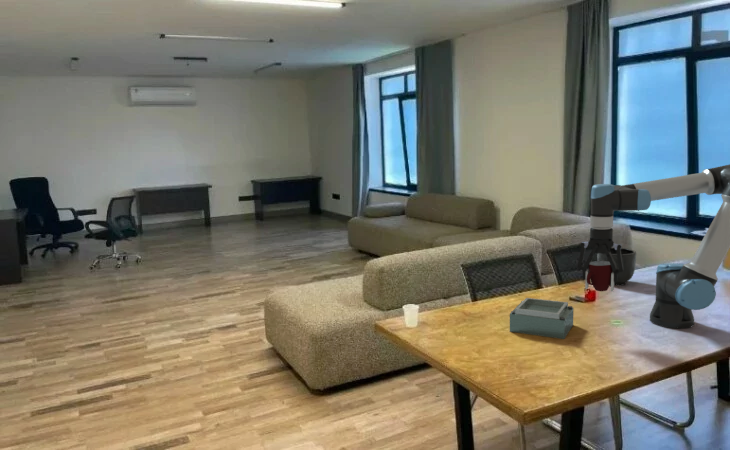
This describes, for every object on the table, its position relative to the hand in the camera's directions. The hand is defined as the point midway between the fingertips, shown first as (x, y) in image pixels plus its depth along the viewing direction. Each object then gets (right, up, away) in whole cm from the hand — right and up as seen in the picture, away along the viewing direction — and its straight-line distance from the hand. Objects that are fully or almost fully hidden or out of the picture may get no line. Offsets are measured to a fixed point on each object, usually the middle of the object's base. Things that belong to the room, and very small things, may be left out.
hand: (599, 289), depth 207 cm
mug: (0, -1, 0) cm, 1 cm away
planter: (+37, -5, +70) cm, 79 cm away
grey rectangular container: (-17, -16, +12) cm, 27 cm away
